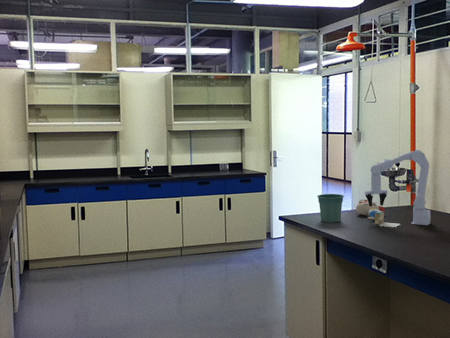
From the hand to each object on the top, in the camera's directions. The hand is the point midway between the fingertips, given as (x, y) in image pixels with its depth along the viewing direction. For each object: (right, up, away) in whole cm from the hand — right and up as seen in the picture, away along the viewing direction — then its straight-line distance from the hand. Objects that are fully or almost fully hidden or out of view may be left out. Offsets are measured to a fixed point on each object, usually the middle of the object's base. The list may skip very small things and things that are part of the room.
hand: (376, 205), depth 313 cm
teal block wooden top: (0, -10, -6) cm, 12 cm away
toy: (+1, -9, +15) cm, 17 cm away
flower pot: (-27, -10, +5) cm, 29 cm away
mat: (+4, -11, -12) cm, 17 cm away
